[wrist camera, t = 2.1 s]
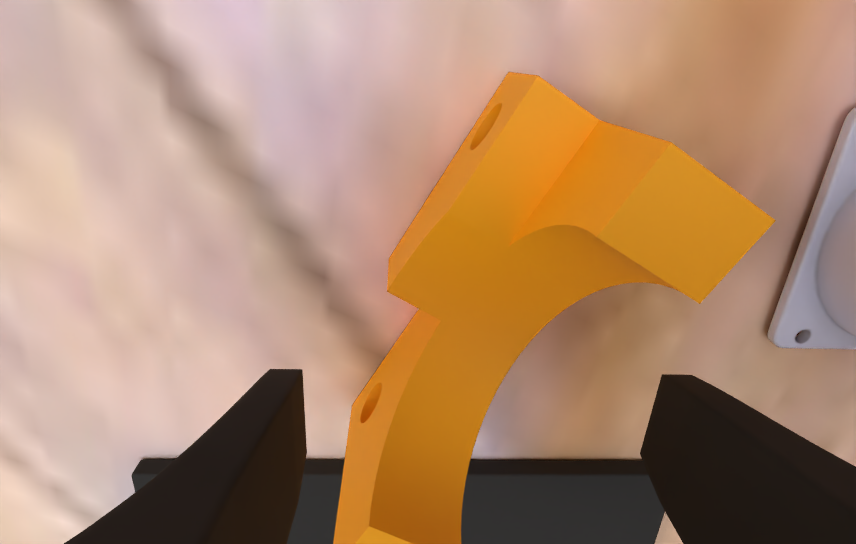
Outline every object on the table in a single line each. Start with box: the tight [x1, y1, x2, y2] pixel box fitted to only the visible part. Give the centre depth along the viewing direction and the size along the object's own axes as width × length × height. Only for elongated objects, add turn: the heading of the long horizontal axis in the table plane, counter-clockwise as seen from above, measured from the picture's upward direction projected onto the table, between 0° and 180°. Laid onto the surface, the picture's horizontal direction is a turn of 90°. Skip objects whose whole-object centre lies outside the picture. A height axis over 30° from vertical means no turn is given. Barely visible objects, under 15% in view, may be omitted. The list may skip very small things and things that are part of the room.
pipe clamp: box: [333, 72, 776, 544], centre depth 13 cm, size 12×4×6 cm, turn 148°
